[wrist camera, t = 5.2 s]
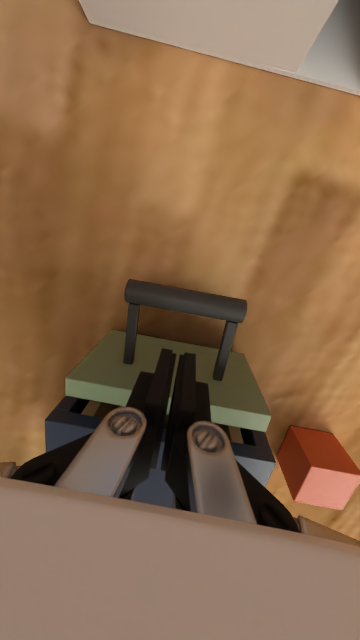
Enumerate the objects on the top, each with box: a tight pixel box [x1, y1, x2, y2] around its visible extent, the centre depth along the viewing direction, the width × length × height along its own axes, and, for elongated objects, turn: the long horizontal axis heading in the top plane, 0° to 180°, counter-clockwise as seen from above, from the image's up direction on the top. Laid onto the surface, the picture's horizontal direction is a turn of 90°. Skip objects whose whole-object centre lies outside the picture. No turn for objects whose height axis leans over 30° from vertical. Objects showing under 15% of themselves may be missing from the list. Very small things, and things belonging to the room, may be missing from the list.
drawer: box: [65, 279, 271, 444], centre depth 17 cm, size 19×12×7 cm, turn 170°
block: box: [277, 426, 360, 510], centre depth 21 cm, size 4×4×4 cm
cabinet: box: [45, 396, 276, 508], centre depth 19 cm, size 15×13×9 cm
